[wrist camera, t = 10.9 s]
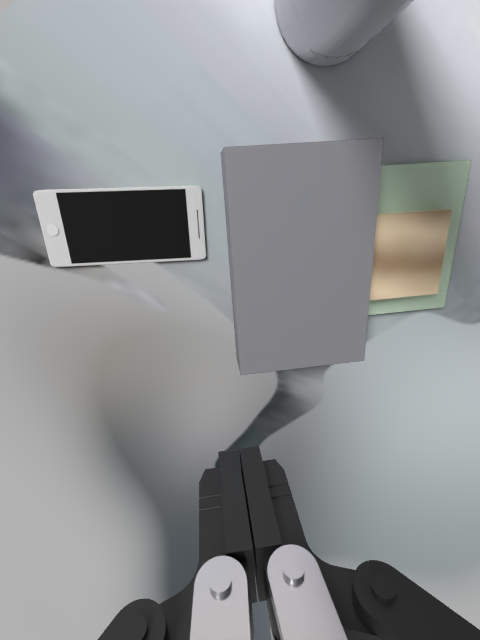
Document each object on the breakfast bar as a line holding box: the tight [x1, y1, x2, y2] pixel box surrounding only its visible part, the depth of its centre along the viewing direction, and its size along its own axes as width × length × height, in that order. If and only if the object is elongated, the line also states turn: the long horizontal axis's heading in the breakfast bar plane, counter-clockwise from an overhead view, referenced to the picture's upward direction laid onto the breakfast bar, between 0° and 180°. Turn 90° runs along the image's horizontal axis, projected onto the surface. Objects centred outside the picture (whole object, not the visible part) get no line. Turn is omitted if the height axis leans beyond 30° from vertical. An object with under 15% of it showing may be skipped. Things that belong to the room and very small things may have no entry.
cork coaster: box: [369, 209, 452, 301], centre depth 35 cm, size 9×9×2 cm
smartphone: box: [33, 186, 206, 267], centre depth 32 cm, size 7×16×1 cm, turn 92°
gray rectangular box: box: [221, 138, 384, 375], centre depth 33 cm, size 22×14×4 cm, turn 4°
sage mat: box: [368, 160, 471, 315], centre depth 35 cm, size 16×11×1 cm
